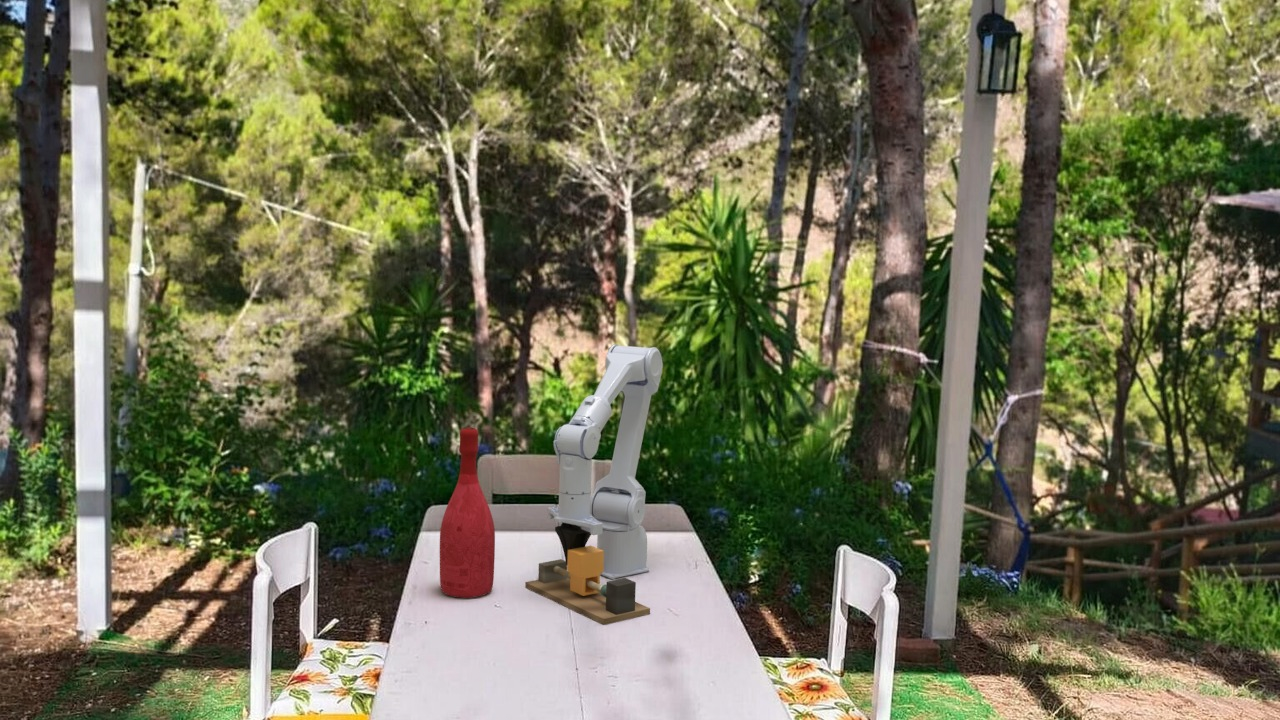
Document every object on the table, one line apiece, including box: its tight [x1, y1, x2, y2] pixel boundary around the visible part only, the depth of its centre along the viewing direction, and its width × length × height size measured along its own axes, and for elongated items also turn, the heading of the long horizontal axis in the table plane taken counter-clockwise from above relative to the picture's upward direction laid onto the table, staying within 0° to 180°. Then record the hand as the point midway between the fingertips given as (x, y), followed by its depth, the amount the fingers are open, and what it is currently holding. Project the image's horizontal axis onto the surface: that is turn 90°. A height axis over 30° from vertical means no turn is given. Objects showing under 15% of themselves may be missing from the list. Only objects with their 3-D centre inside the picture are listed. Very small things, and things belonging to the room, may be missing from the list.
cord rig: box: [525, 558, 651, 626], centre depth 199 cm, size 24×10×6 cm, turn 39°
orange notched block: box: [567, 545, 604, 596], centre depth 199 cm, size 4×5×8 cm
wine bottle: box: [439, 427, 496, 599], centre depth 201 cm, size 10×10×30 cm
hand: (573, 565), depth 202 cm, fingers closed
